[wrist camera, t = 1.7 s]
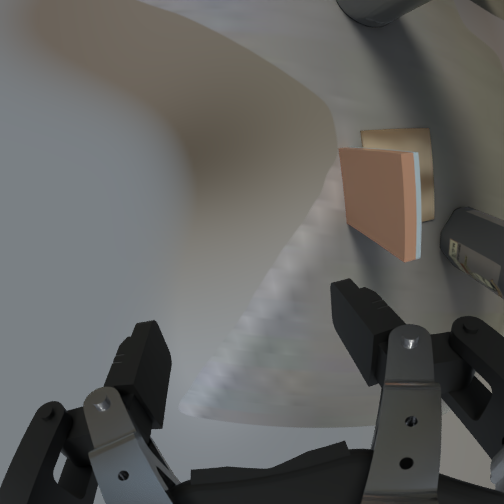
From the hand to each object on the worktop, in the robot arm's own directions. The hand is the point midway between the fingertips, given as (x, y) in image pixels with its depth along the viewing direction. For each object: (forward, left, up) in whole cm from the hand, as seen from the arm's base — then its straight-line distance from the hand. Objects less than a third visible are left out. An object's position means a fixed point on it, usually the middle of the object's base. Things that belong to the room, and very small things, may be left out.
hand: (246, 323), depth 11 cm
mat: (+1, +24, -26) cm, 36 cm away
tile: (+1, +16, -26) cm, 30 cm away
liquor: (+12, +37, -26) cm, 47 cm away
